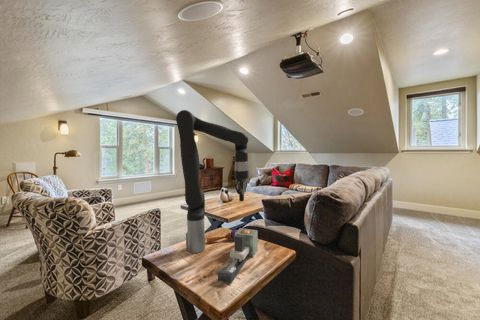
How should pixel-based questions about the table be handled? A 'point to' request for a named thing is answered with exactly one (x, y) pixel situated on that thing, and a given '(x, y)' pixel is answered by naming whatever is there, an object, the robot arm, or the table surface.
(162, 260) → the table surface
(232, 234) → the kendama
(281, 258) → the table surface
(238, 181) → the robot arm
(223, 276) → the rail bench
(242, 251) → the carriage
